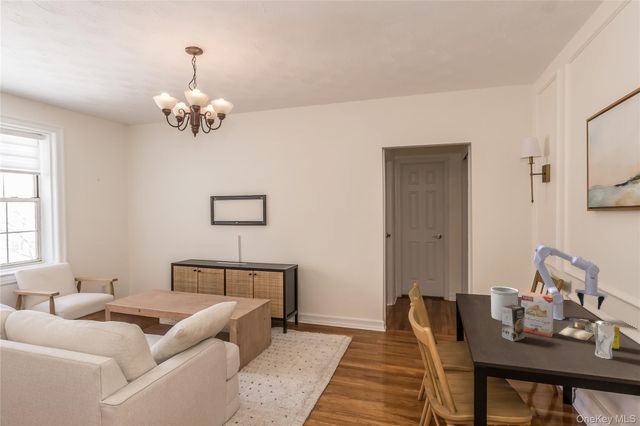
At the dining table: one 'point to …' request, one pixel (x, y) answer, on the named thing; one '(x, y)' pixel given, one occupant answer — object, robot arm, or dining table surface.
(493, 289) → the utensil holder
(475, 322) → the dining table surface
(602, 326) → the beer glass
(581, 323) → the plug
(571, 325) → the housing
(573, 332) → the board
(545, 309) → the cracker box
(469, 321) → the dining table surface
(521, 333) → the coffee box
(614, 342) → the supplement box
